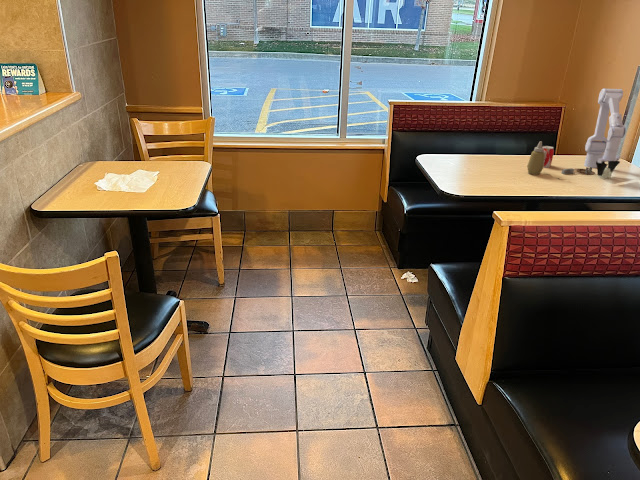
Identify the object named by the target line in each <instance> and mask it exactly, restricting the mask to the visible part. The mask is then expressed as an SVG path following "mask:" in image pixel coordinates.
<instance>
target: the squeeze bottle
mask: <svg viewBox="0 0 640 480" xmlns="http://www.w3.org/2000/svg"><path fill="white" fill-rule="evenodd" d="M543 151H544V148H543V141H542V140H541V141H540V140H539V142H538V144H537V145H536V146H535V147H534V149H533V151H531V154H530V157H529V160H528V162H527V166H526V167H527V173H528V174H529V175H532V176H538V175H540V174H541V173H542V170H543V169H544V167H543V165H544V156H545V153H544V152H543Z"/></svg>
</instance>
